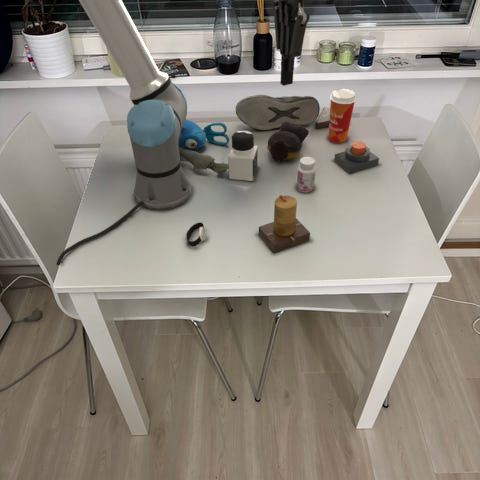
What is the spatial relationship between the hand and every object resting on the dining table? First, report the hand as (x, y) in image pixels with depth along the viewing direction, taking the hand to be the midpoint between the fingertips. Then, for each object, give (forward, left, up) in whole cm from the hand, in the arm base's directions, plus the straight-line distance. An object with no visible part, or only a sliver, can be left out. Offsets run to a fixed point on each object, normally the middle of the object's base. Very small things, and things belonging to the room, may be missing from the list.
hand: (286, 83), depth 119 cm
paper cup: (+24, +7, -25) cm, 35 cm away
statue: (-32, +28, -20) cm, 47 cm away
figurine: (0, +3, -21) cm, 21 cm away
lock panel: (-15, -27, -24) cm, 39 cm away
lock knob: (-15, -27, -22) cm, 38 cm away
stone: (+28, +17, -26) cm, 42 cm away
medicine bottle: (-11, +4, -25) cm, 27 cm away
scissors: (-8, +20, -20) cm, 29 cm away
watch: (-34, -17, -25) cm, 46 cm away
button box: (+21, -7, -24) cm, 33 cm away
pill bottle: (+1, -11, -25) cm, 27 cm away
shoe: (+11, +22, -19) cm, 31 cm away
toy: (-20, +27, -15) cm, 36 cm away
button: (+21, -7, -21) cm, 30 cm away
